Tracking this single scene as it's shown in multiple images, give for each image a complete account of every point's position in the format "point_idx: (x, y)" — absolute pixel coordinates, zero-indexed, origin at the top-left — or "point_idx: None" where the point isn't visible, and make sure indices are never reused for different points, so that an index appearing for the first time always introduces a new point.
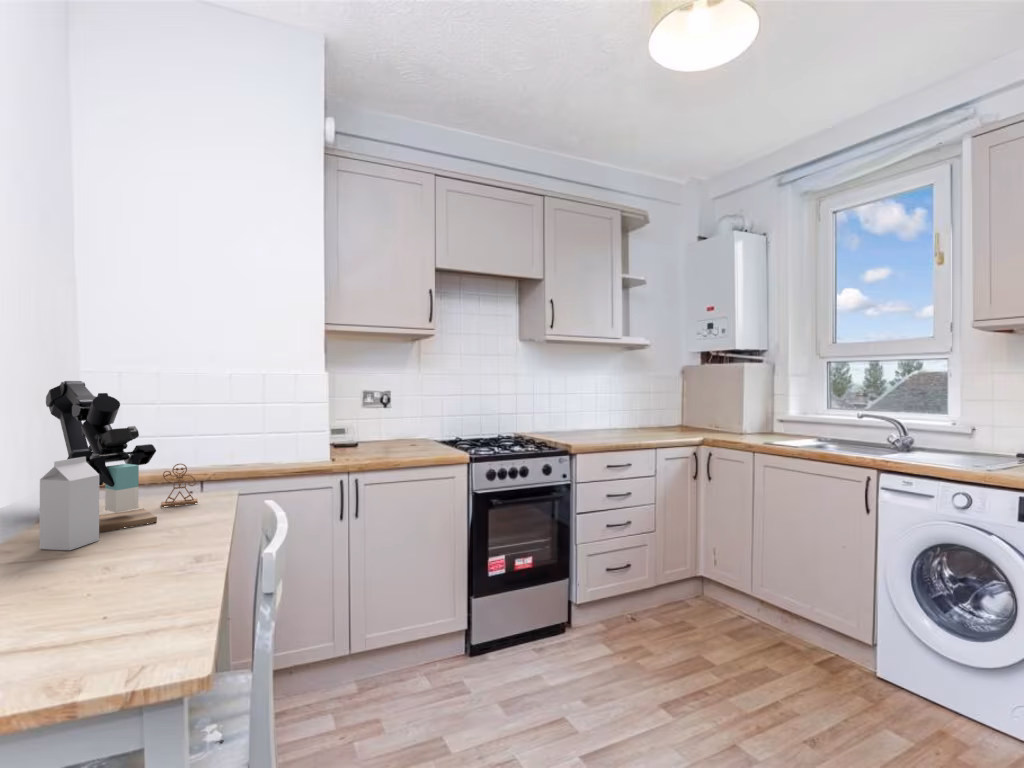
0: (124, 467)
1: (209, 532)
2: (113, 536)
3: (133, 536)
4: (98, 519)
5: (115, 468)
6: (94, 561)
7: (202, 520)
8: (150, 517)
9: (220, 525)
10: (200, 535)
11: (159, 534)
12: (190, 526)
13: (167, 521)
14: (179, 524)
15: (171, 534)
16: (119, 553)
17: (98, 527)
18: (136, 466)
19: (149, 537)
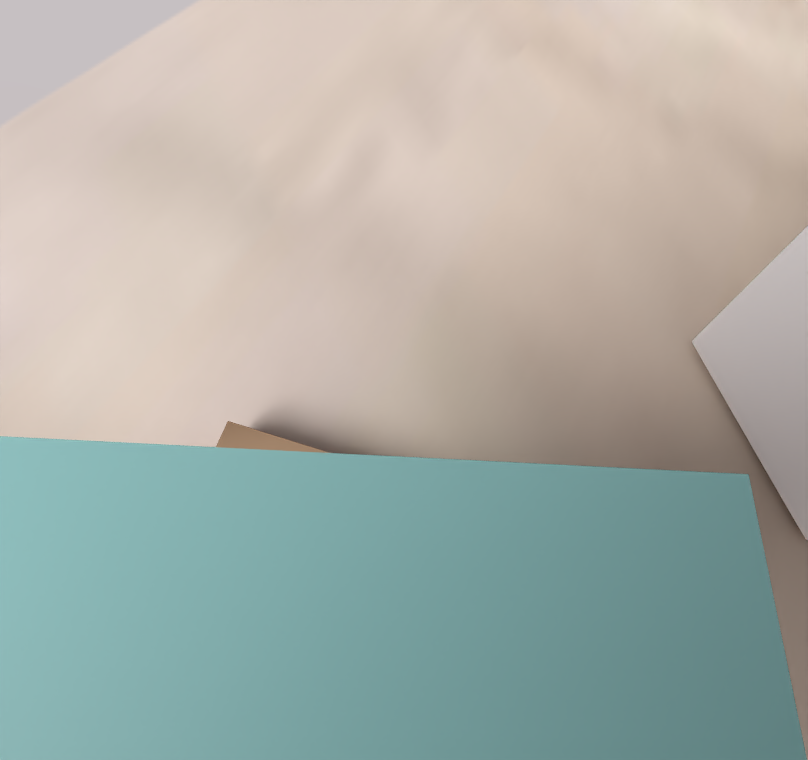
0: (473, 468)
1: (279, 15)
2: (592, 366)
3: (523, 263)
4: (778, 257)
5: (755, 551)
6: (802, 74)
7: (80, 218)
8: (265, 446)
9: (148, 59)
10: (337, 13)
11: (423, 179)
12: (226, 170)
13: (180, 402)
14: (214, 260)
15: (391, 129)
16: (695, 80)
17: (742, 292)
18: (59, 443)
19: (485, 175)
